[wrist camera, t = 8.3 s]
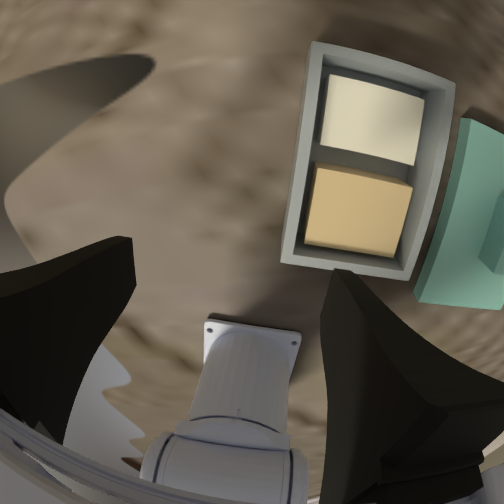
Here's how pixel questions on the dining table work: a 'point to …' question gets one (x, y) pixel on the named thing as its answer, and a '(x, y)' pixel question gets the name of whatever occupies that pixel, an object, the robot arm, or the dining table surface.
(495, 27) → the dining table surface
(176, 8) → the dining table surface
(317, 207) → the box
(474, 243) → the lid
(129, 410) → the dining table surface
